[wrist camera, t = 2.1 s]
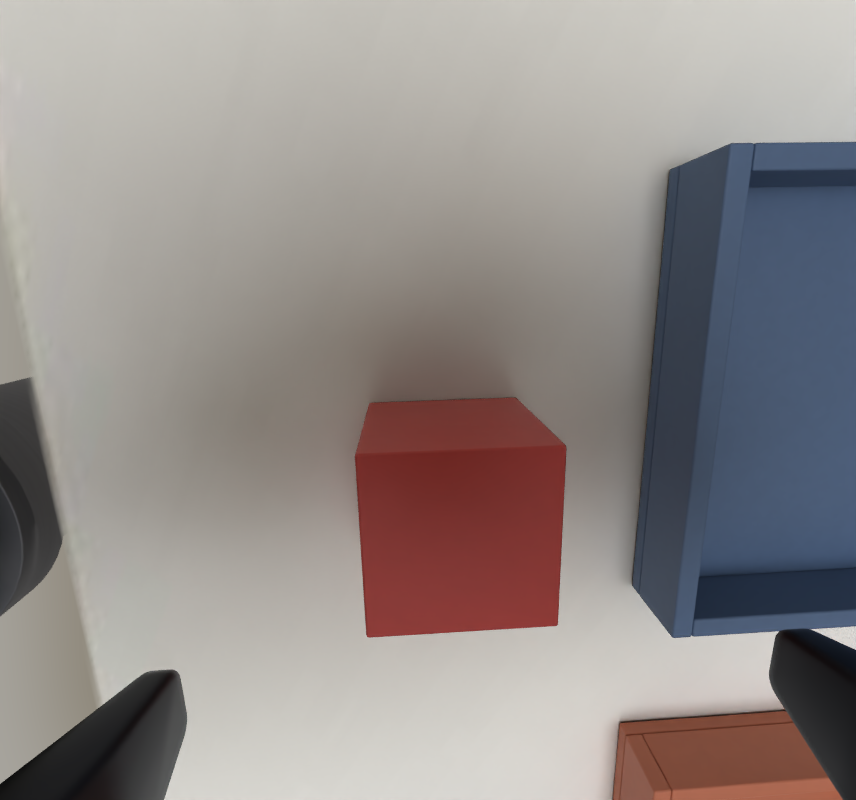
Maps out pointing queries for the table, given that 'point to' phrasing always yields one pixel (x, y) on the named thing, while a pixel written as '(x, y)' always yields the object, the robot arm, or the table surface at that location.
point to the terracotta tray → (718, 760)
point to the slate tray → (753, 396)
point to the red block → (459, 517)
